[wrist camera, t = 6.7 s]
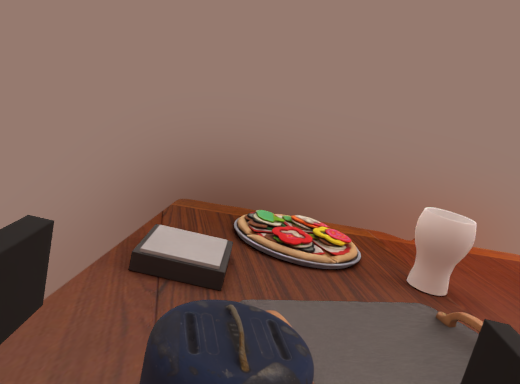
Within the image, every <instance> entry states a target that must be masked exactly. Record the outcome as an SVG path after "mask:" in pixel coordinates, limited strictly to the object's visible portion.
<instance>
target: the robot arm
mask: <svg viewBox="0 0 520 384" xmlns="http://www.w3.org/2000/svg"><path fill="white" fill-rule="evenodd" d="M53 225H54V221H53V220H48V219H44V218H40V217H35V216H30V215H27V216H25V217H23V218H21V219H20V220H18V221H16V222H14V223H12V224H10V225H8V226H6V227H4V228H2V229H0V344H1V343H3V342H4V341H5V340H6V339H7V338H8V337H9V336H10V335H11V334H12V333H13V332H14V331H15V330H16V329H17V328H19V327H20V326H21V325H22V324H23V323H24V322H25V321H26V320H27V319H28V318H29V317H30V316H31V315H32V314H33V313H35V312H36V311H37V310H38V309H39V308H40V307H41V306H42V305H43V299H44V291H45V284H46V277H47V269H48V262H49V254H50V247H51V240H52V232H53ZM460 384H520V335H519V334H518V333H517V332H516V331H515V330H514V329H513V328H512V327H511V326H510V325H508V324H504V323H500V322H495V321H491V320H486V319H484V322H483V325H482V327H481V330H480V333H479V335H478V338H477V341H476V343H475V346H474V349H473V351H472V354H471V357H470V359H469V362H468V365H467V367H466V370H465V373H464V375H463V378H462V381H461V383H460Z"/></svg>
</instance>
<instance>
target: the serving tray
mask: <svg viewBox="0 0 520 384" xmlns="http://www.w3.org/2000/svg"><path fill="white" fill-rule="evenodd" d="M240 303H243V304H247V305H251V306H254V307H257V308H259V309H262V310H264V311H267V312H269V313H271V314H273V315H275V316H276V317H278V318H280V319H281V320H283V321H284V322H286V323H287V324H288V325H290V326H291V327H292V328H293V329H294V330H295V331H296V332H297V333H298V334H299V335H300V336H301V337H302V339H303V340H304V341H305V343H306V344H307V346H308V348H309V350H310V352H311V355H312V359H313V364H314V378H313V383H312V384H460V383H461V381H462V378H463V375H464V373H465V370H466V367H467V365H468V362H469V359H470V357H471V354H472V351H473V349H474V346H475V343H476V341H477V338H478V335H479V334H478V333H476V332H474V331H473V330H471V329H470V328H468V327H466V326H465V325H463V324H461V323H459V322H457V321H458V320H460V321H462V322H464V323H466V324H468V325H470V326H471V327H473V328H474V329H476V330H477V331H479V332H480V330H481V327H482V325H483V322H482V321H481V320H479V319H477V318H476V317H474V316H472V315H470V314H467V313H464V312H455V313H450V314H448V315H447V314H445V313H444V312H438V311H437V310H435V309H433V308H431V307H429V306H425V305H423V304H419V303H403V302H401V303H400V302H397V303H393V302H370V303H369V302H357V301H349V302H344V301H295V300H242V301H241V302H240Z"/></svg>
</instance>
